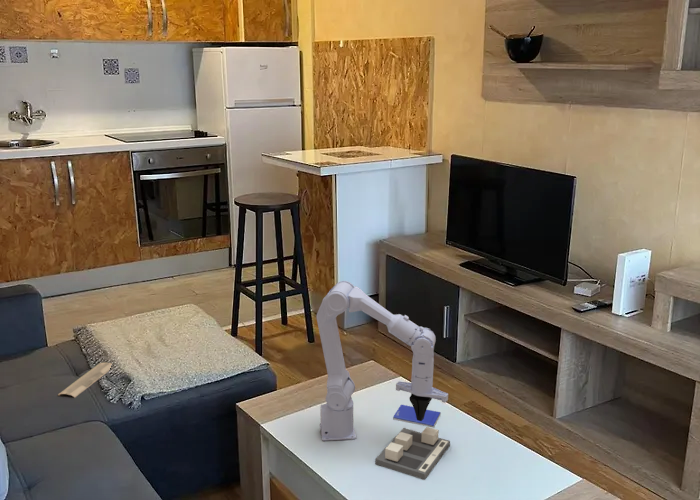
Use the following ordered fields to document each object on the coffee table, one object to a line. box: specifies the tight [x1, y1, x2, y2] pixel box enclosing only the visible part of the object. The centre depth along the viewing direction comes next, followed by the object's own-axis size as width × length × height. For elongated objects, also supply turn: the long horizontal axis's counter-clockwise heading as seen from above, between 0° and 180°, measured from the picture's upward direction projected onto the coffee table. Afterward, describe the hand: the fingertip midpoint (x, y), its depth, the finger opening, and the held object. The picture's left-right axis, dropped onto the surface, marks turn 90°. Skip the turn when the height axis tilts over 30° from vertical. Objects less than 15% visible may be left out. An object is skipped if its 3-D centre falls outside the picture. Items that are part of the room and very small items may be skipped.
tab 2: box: [394, 431, 412, 451], centre depth 184 cm, size 4×4×3 cm
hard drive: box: [392, 404, 442, 429], centre depth 202 cm, size 2×8×12 cm
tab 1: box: [384, 441, 403, 462], centre depth 178 cm, size 4×4×3 cm
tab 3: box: [421, 426, 439, 445], centre depth 186 cm, size 4×4×3 cm
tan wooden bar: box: [57, 362, 113, 399], centre depth 224 cm, size 24×7×2 cm, turn 168°
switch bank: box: [374, 427, 451, 480], centre depth 183 cm, size 14×18×2 cm
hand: (420, 419), depth 186 cm, fingers closed
